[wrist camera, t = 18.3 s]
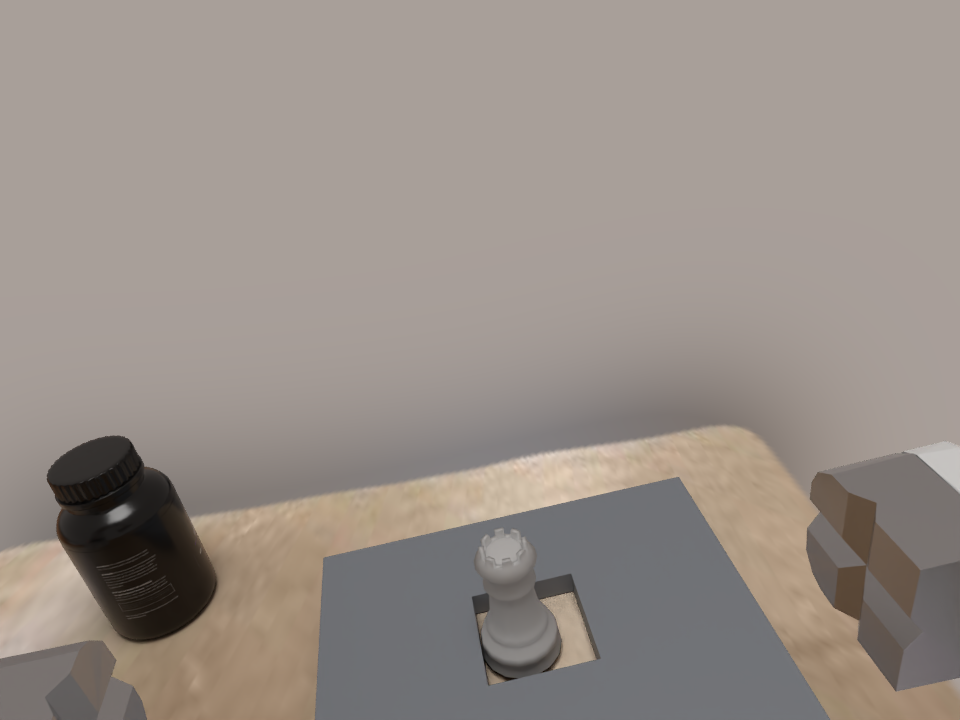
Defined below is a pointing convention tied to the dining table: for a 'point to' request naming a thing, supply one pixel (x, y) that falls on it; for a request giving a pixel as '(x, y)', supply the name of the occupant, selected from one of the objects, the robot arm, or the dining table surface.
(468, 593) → the socket board
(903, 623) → the robot arm
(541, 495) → the dining table surface
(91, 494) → the supplement bottle
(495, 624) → the rook chess piece
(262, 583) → the dining table surface
